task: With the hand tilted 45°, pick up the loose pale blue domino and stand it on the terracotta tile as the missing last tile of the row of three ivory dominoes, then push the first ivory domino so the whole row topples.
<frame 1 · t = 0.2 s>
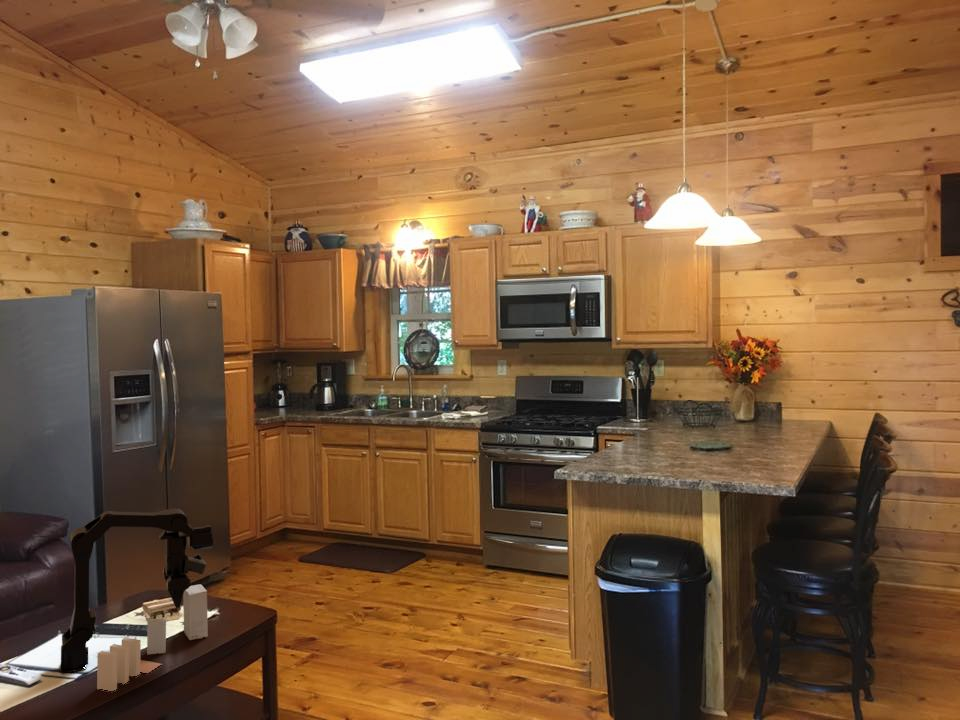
hand: (176, 602, 229), 15 cm above the table, tool pointing down, fingers open, 9 cm apart
domino 2: (119, 681, 210), on the table
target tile: (141, 667, 218), on the table
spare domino: (156, 652, 228), on the table
skincare box: (195, 634, 241), on the table
domino 1: (107, 689, 205), on the table
domino 3: (130, 674, 214), on the table
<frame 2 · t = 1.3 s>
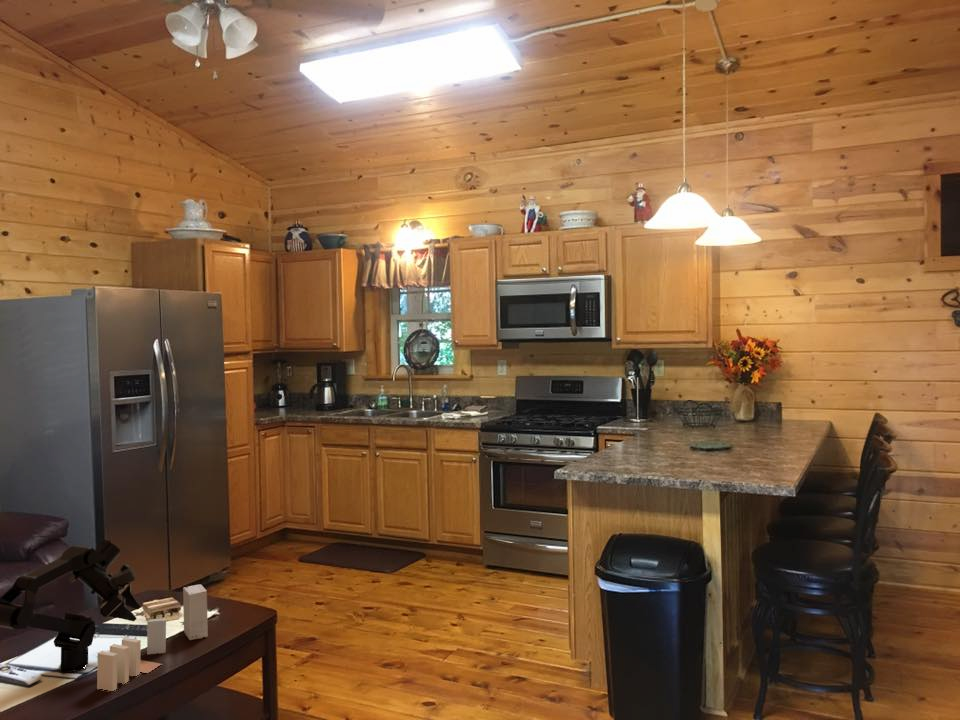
hand: (137, 613, 226), 12 cm above the table, tool tilted 45°, fingers open, 9 cm apart
nothing on the table moved.
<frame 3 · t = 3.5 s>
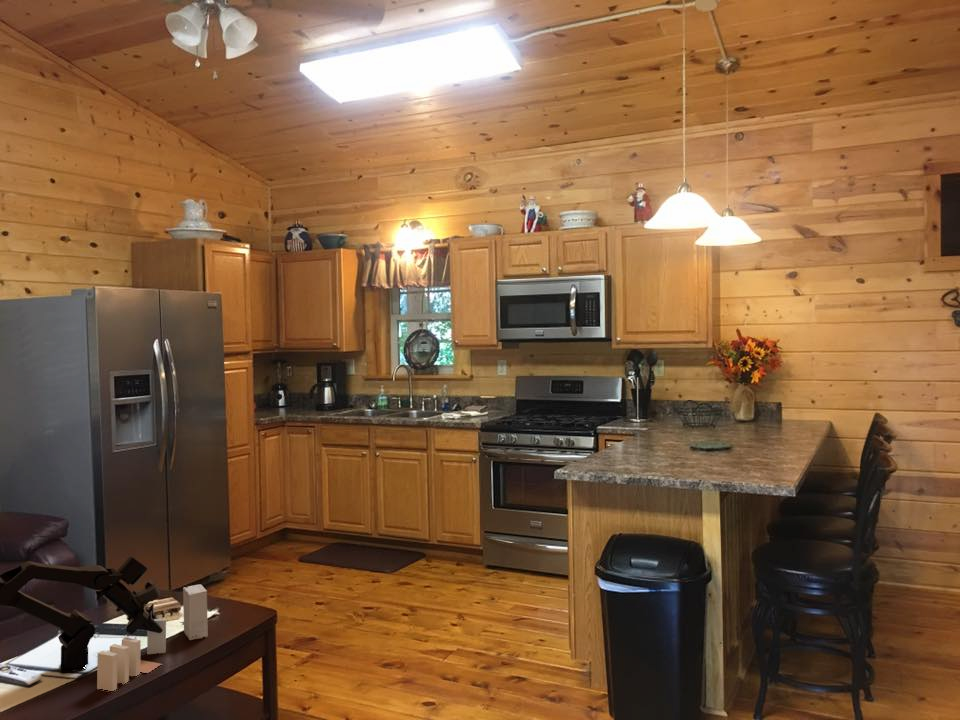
hand: (161, 630, 228), 7 cm above the table, tool tilted 45°, fingers closed on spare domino, 2 cm apart
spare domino: (156, 652, 228), on the table, touching gripper
everything else where it was.
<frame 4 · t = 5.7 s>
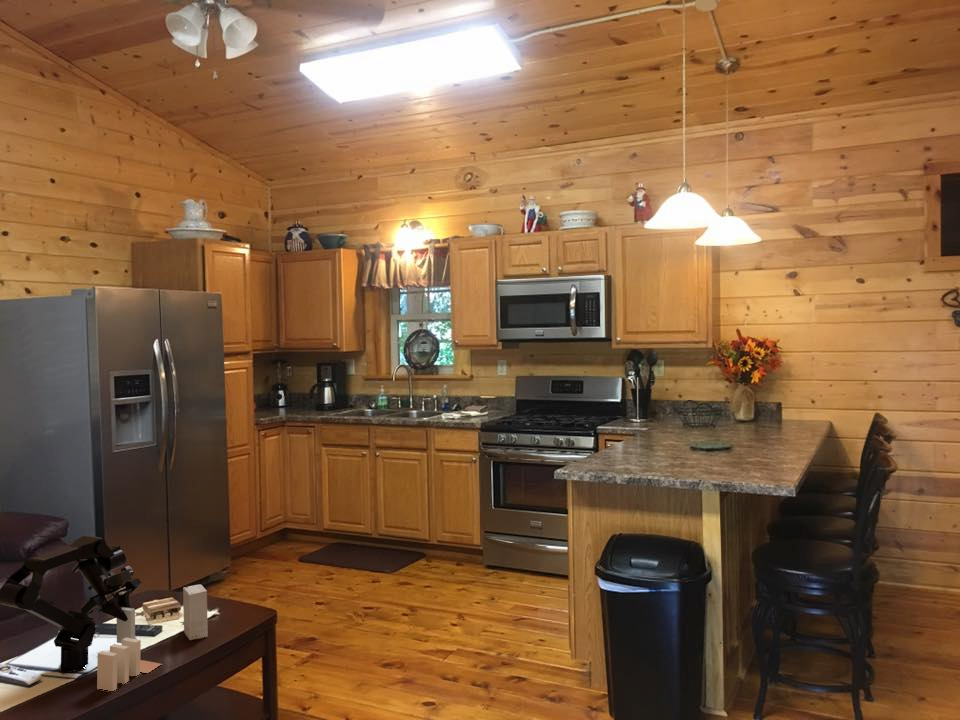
hand: (129, 619, 219), 14 cm above the table, tool tilted 45°, fingers closed on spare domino
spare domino: (126, 642, 219), point 6 cm above the table, touching gripper
everything else where it was.
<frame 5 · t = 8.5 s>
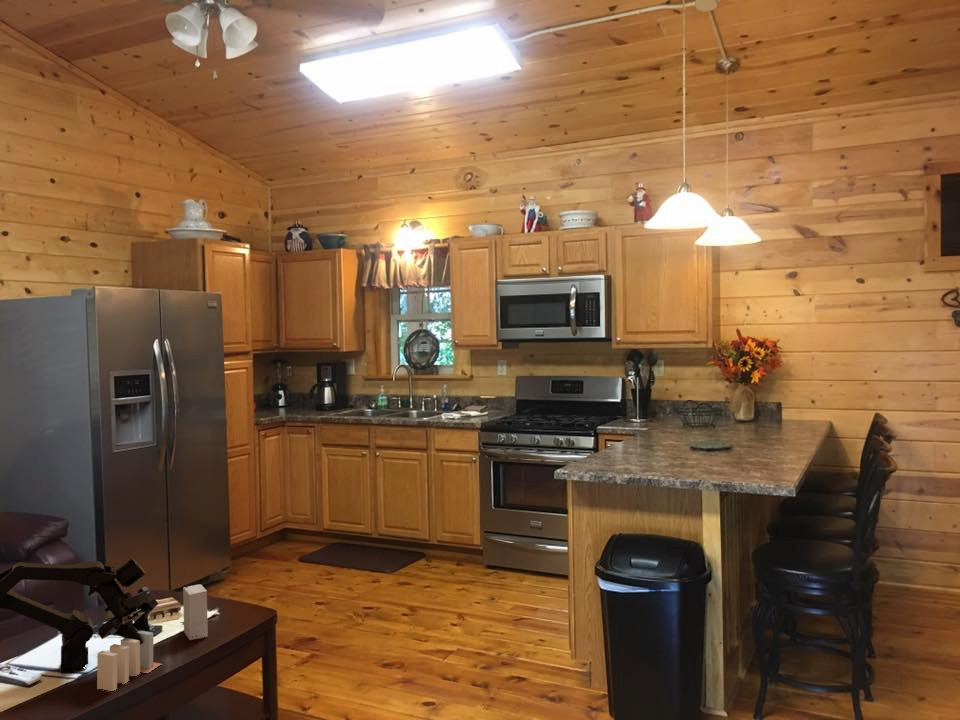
hand: (146, 641, 217), 8 cm above the table, tool tilted 45°, fingers open, 3 cm apart
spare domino: (143, 666, 218), resting on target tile
domino 3: (130, 674, 214), on the table, touching gripper
everything else where it was.
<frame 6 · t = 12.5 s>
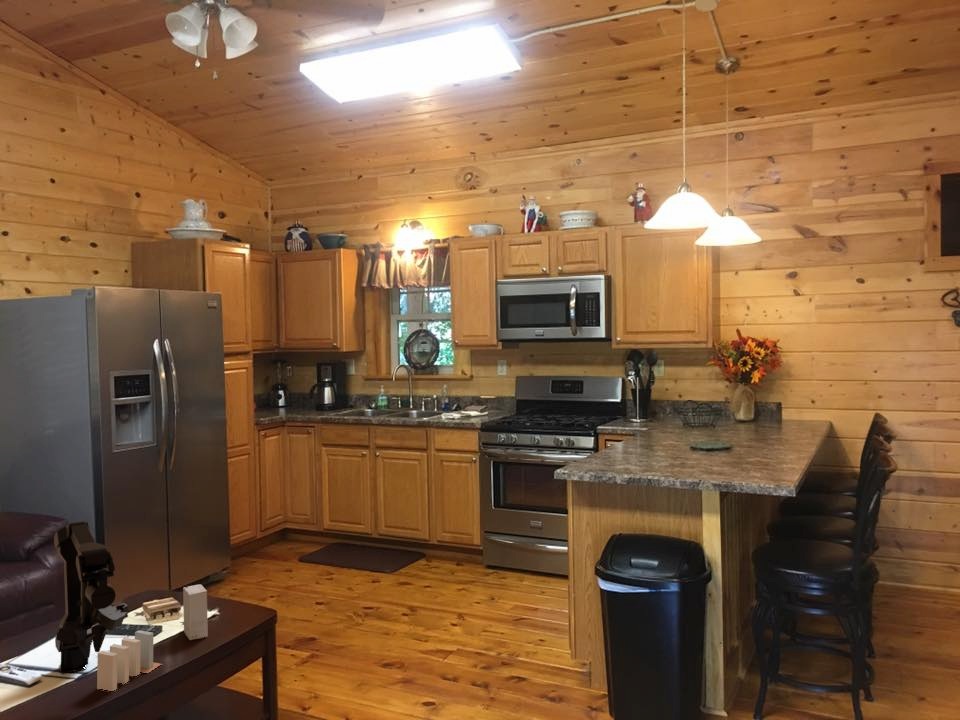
hand: (92, 654, 199), 12 cm above the table, tool pointing down, fingers open, 3 cm apart
domino 3: (130, 674, 214), on the table
everything else where it was.
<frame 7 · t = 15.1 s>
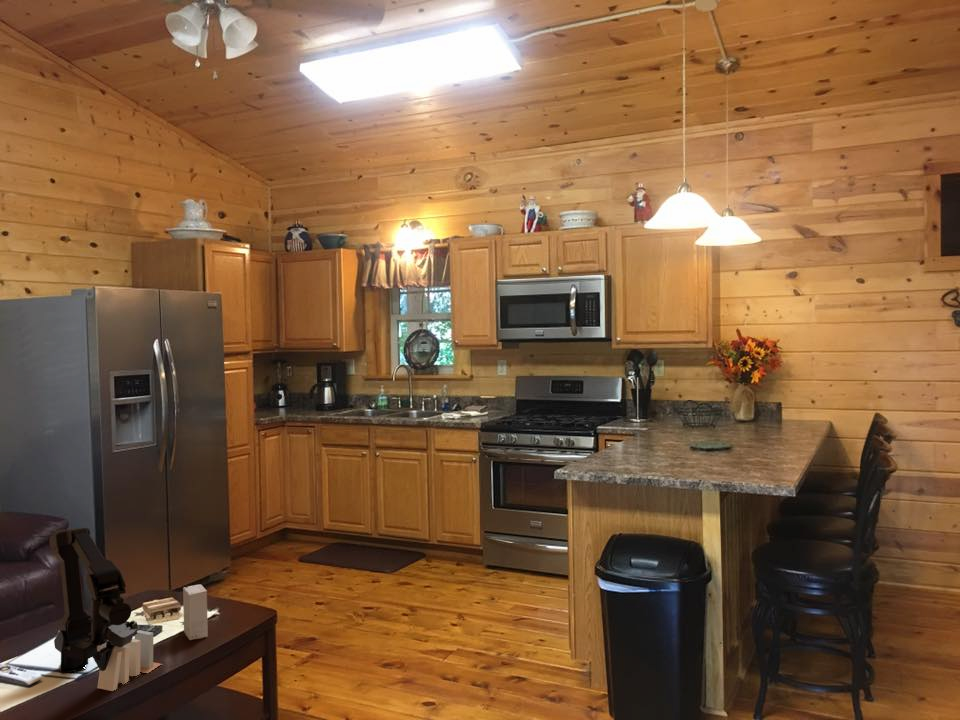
hand: (102, 670, 204), 6 cm above the table, tool pointing down, fingers closed
domino 1: (107, 688, 205), on the table, tilted 10°
everything else where it was.
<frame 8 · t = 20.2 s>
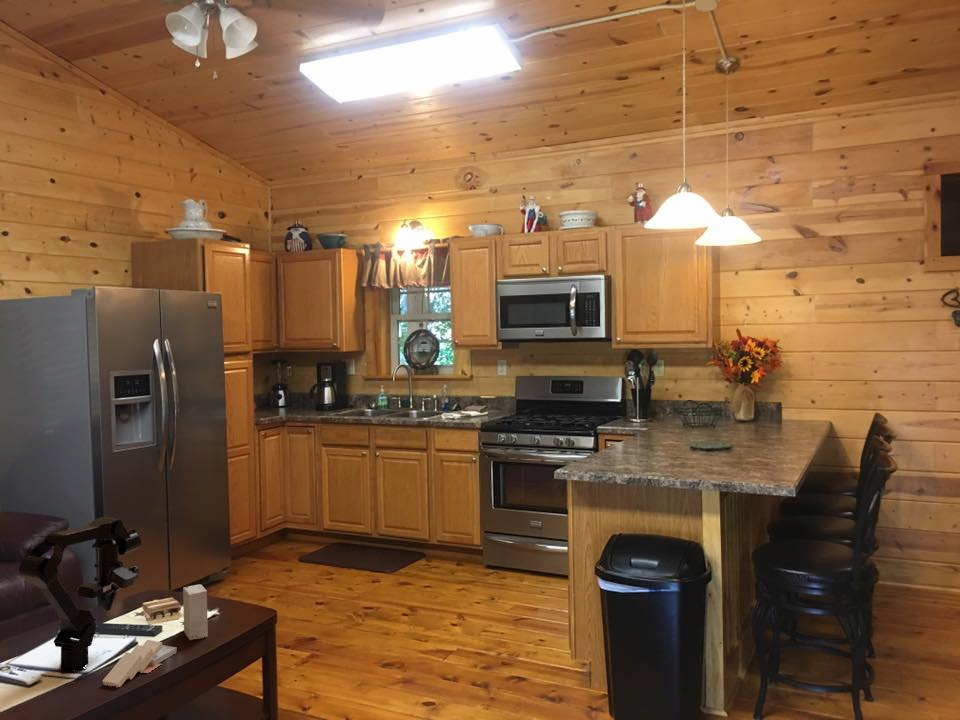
hand: (108, 610, 228), 12 cm above the table, tool pointing down, fingers closed
domino 2: (122, 676, 211), point 1 cm above the table, tilted 66°, touching domino 1, domino 3
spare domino: (146, 661, 219), point 1 cm above the table, tilted 93°, touching domino 3, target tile
domino 1: (110, 684, 207), point 1 cm above the table, tilted 66°, touching domino 2
domino 3: (133, 669, 215), point 1 cm above the table, tilted 68°, touching domino 2, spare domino, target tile
everything else where it was.
at the end: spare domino tilted 93°; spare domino 1.4 cm from the target spot, point 1.3 cm above the table; domino 1 tilted 66° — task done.
